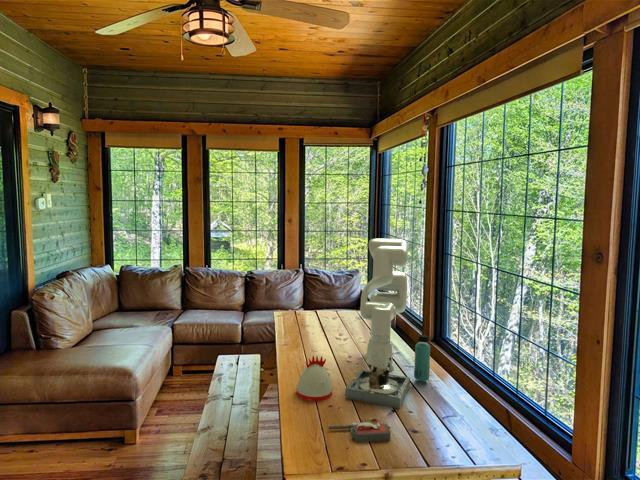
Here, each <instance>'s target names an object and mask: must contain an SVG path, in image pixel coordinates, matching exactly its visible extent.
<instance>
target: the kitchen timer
mask: <svg viewBox="0 0 640 480" xmlns="http://www.w3.org/2000/svg"><path fill="white" fill-rule="evenodd" d="M318 357H319V356H316V357H314V355H312V359H311V358H308V363H307V362H306V361H304V364H305V365H306V367H305V368H304V369H303V371H302V372H301V374H300V376H299V379H298V382H297V385H296V396H298V398H301V399H302V400H305V401H311V402H319V401H325V400H328V399H330V398H331V397H332V395H333V385H332V382H331V381H332V380H331V378H330V376H331V375H330V373H329V372H328V371H327V370H326V368H325V367H324V366H325V364H326V361H327V359H326V358H323V356H322V355H321V356H320V359H319V358H318ZM323 359H324V360H323Z"/></svg>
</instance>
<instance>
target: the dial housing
mask: <svg viewBox="0 0 640 480" xmlns="http://www.w3.org/2000/svg"><path fill="white" fill-rule="evenodd" d="M370 374H372V372H371V370H366V369H359V371H358V372H357V373H356V375H355V376H354V377H353V378H352V379H351V381H350V382H349V383H348V384H347V385H346V387H345V390H344V394H345V396H344V399H347V400H351V401H352V400H353V401H357V402H362V403H368V404H372V405H378V406H383V407H389V408H394V409H399V410H400V409H401V407H402V405H403V403H404V401H405V399H406V396H407V394H408V392H409V390H410V388H411V377H410V376H409V377H408V376H402V375H397V374H391V373H389V379H392V380H394V381H396V382H397V383H398V384H399V391H398V392H397V393H395V394H392V395H389V394H384V393H378V392H375V391H367V390H362V389H360V388H359V381H360V380H361V379H363V378H366V377H369V375H370Z"/></svg>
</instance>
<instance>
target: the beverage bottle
mask: <svg viewBox="0 0 640 480" xmlns="http://www.w3.org/2000/svg"><path fill="white" fill-rule="evenodd" d="M417 341H418V342H417V343H416V344H415V350H414V351H415V353H414V370H413V377H414V379H415V380H417V381H419V382H427V381H429V380H430V369H431V366H430V365H431V364H430V361H431V360H430V359H431V347H432V346H431V345H430V344H429V343H428V342H429V336H428V335H425V334H419V335H418V339H417Z"/></svg>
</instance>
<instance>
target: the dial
mask: <svg viewBox="0 0 640 480" xmlns="http://www.w3.org/2000/svg"><path fill="white" fill-rule="evenodd" d="M388 370H389V368H388ZM384 372H385V369H384ZM389 374H390V373H389ZM389 374H388V375H387V382H386V384H385V385H383V386H380V376H381V375H382V374H381V369H379V368H378V369H377V371H376V372H374V373H372V374H370V375H369V377H366V378H363V379H361V380H360V381H359V388H360V389H362V390H367V391H375V392H378V393H384V394H389V395H392V394H395V393H397V392H398V391H399V384H398V383H397V382H396V381H394V380H392V379H389Z"/></svg>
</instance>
